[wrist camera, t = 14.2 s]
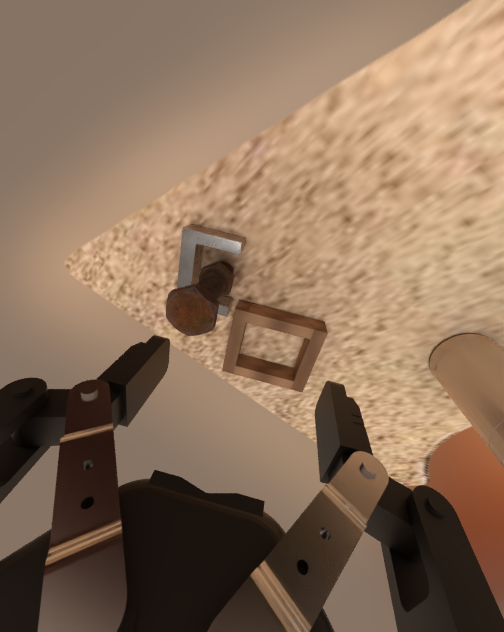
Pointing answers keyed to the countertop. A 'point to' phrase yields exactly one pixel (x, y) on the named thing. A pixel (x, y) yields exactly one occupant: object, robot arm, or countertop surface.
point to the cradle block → (192, 256)
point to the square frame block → (284, 323)
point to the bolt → (199, 300)
